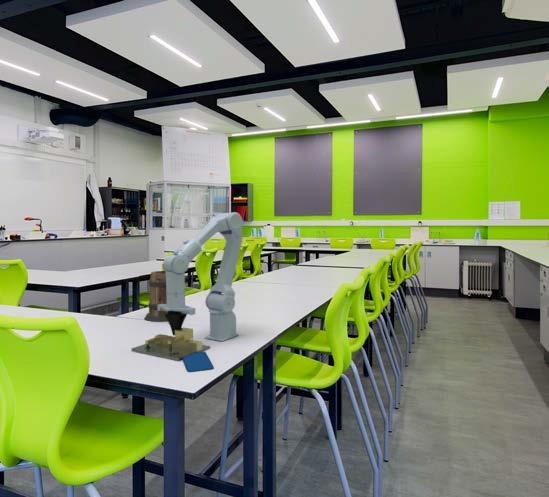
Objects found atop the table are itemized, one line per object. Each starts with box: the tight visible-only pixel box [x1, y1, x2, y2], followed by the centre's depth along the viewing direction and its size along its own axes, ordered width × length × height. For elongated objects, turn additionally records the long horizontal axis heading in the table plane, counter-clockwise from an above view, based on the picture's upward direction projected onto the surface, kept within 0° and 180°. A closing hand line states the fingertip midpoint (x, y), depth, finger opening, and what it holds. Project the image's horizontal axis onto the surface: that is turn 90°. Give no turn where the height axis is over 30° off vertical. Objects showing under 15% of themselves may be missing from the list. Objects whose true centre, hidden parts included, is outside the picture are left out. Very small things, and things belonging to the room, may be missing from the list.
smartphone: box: [181, 351, 215, 373], centre depth 115 cm, size 7×1×15 cm
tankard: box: [143, 270, 169, 323], centre depth 170 cm, size 24×17×20 cm
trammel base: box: [130, 333, 211, 362], centre depth 127 cm, size 14×20×3 cm
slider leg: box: [168, 326, 194, 352], centre depth 125 cm, size 8×4×5 cm, turn 150°
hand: (176, 334), depth 128 cm, fingers closed
